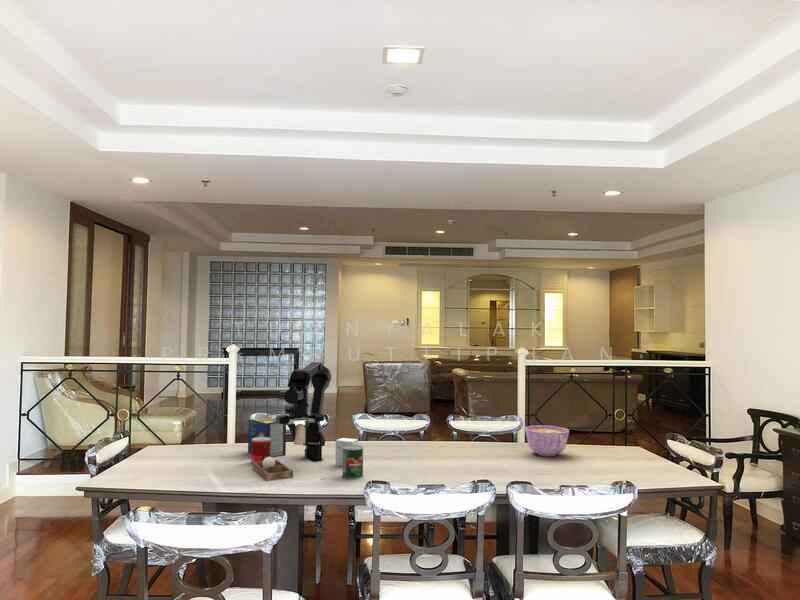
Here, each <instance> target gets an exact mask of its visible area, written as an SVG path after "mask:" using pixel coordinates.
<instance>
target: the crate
mask: <svg viewBox="0 0 800 600" xmlns="http://www.w3.org/2000/svg"><path fill="white" fill-rule="evenodd" d="M274 460H275V466H273V467H264V468H263V465H262V463H263V462H253V464H252V469H253V471H255V473H257V474H259V476H261V477H262V478H263V479H264V480H265V481H268V482H269V481H276V480H284V479H292V478H293V477H294V471H293V470H292V469H291V468H289V467H288V466H286V464H284V463H283V462H281V461H279V460H278V459H274Z"/></svg>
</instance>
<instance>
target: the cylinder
mask: <svg viewBox="0 0 800 600" xmlns="http://www.w3.org/2000/svg"><path fill="white" fill-rule="evenodd" d="M304 425H305V424H302V423H299V424H295V440H293V445H295V446H303V444H305V439H306V428H305V426H304Z"/></svg>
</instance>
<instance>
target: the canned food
mask: <svg viewBox="0 0 800 600" xmlns="http://www.w3.org/2000/svg"><path fill="white" fill-rule="evenodd" d="M250 457H251V458H250V459H251V460H250V461H251V462H250V463H251V464H252V465H253V462H263V460H264V459H265V458H266V457H271V438H269V437H256V438H253V439H252V447H251V455H250Z"/></svg>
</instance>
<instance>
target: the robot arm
mask: <svg viewBox="0 0 800 600" xmlns="http://www.w3.org/2000/svg"><path fill="white" fill-rule="evenodd" d="M331 380H332V374H331V371H330V369H329V368H328V367H326V366H324V364H323V362H320V361H317V362H315V361H312V362H310V363H309V364H308V365H307V366H305V367H303V368H301V369H300V368H295V369H293V370H292V372H291V374H290V377H289V381H288V383H287V388H288V389H287V390H286V391H285V393H284V394H283V395H284V396H283V397H284V401H285V402H286V403H287V404H289V405H285V406H284V414H277V415H276V416H275V418H276V423H278V424H286V427H288V429H289V431H290V436H291V438H292V440H293V441H294V440H295V426H296V423H294V422H298V421H304V424H303V425H304V426H305V428H306V439H305V444H303V445H302V446H304V447H305V448H304V458H305V459H307V460H308V461H310V462H317V461H323V460H324V458H323V455H322V454H323V447H325V446H326V438H325V435H324V433H323V431H324V430H323V428H322V425H321V422H325V414H324V413H322V412H323V411H322V410H323V406H324V405H323V403H324V397H325V392H326V390H327V389H328V388H329V386H330V383H331ZM310 383H311V385H312V387H313V394H312V395H313V396H312V400H311V407H310V413H308V407H309V403H308V401H309V395H308V394H309V388H310ZM290 405H291V406H290Z"/></svg>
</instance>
